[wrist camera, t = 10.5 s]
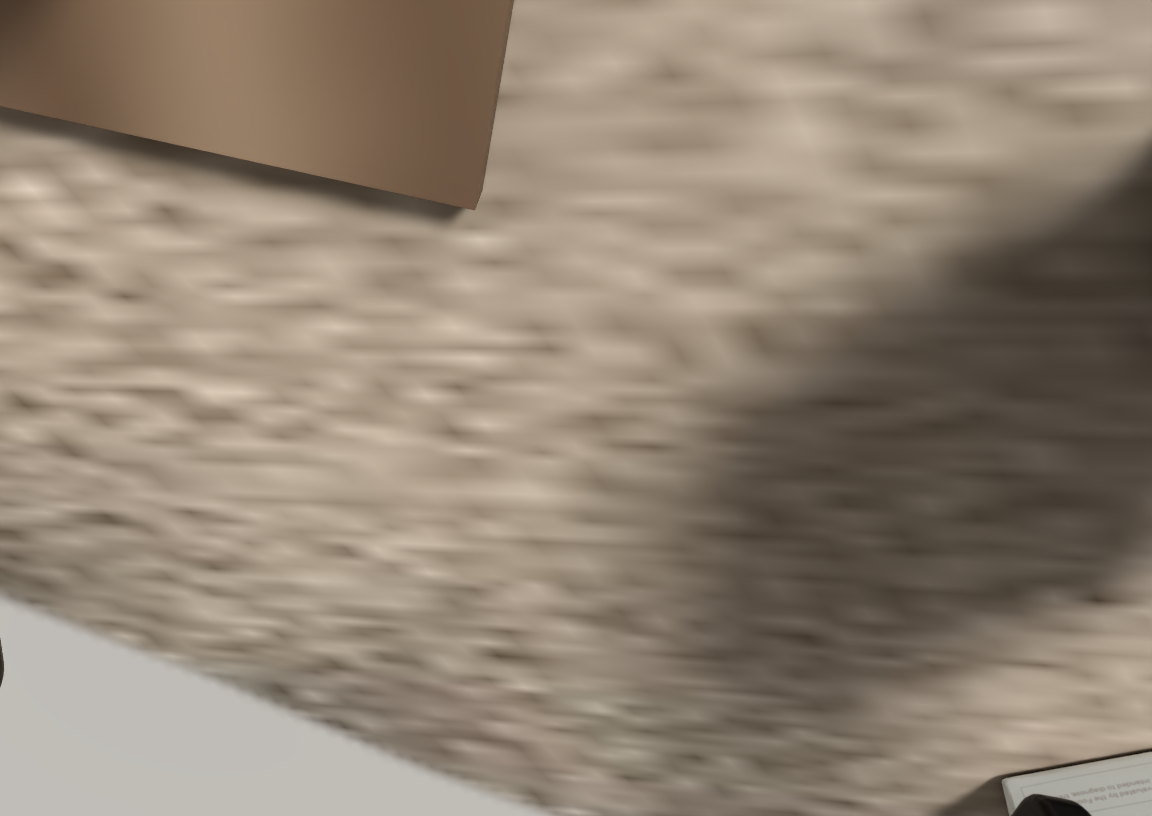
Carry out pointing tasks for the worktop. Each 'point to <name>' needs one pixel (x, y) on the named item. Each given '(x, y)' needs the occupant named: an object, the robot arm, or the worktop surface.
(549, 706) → the worktop surface
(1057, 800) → the robot arm
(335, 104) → the shelf board
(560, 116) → the worktop surface
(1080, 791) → the supplement box
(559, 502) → the worktop surface
